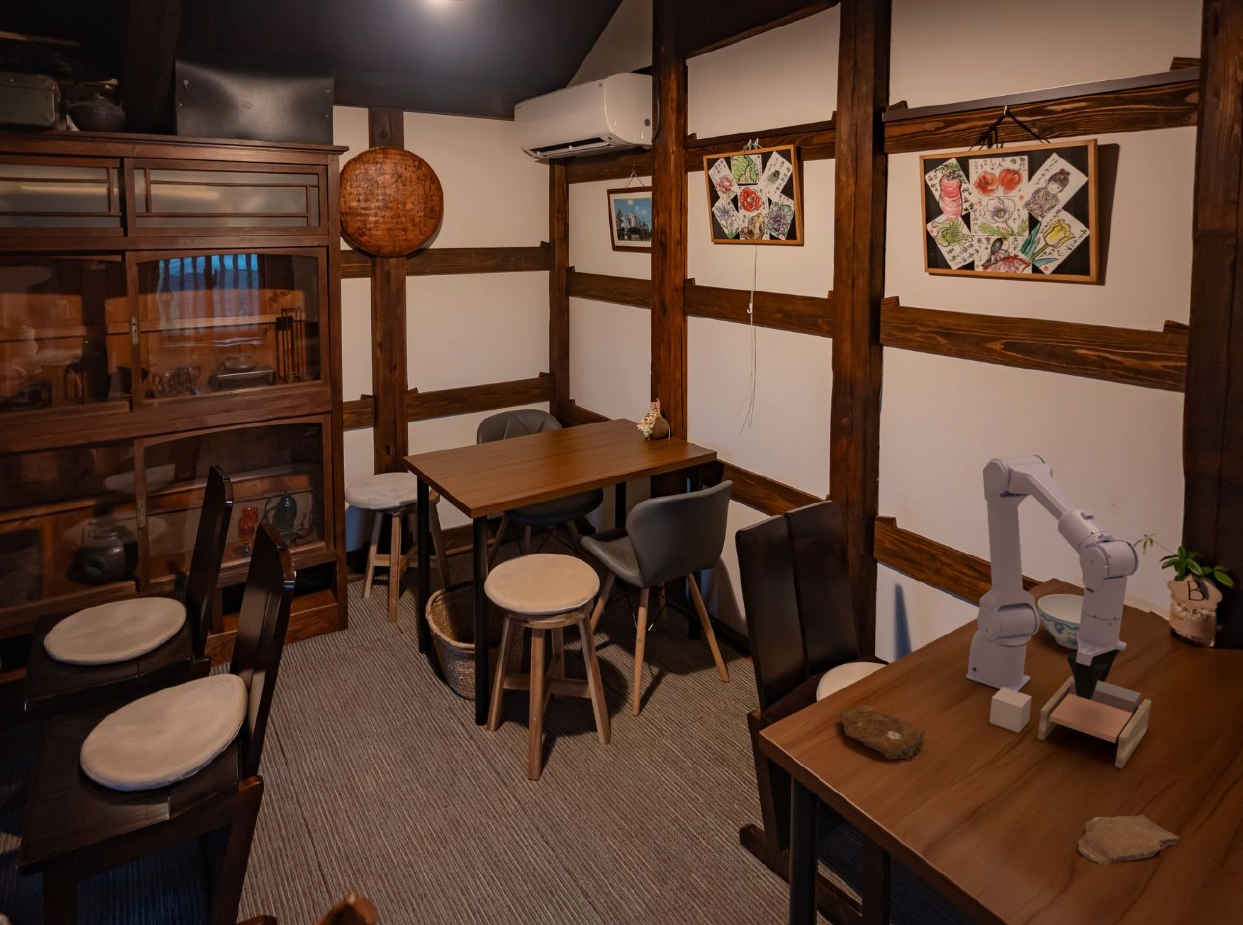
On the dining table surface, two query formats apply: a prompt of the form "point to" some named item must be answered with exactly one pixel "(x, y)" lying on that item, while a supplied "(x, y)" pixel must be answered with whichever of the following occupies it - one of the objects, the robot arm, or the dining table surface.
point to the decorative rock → (882, 732)
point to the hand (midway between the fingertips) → (1091, 688)
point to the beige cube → (1010, 709)
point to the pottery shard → (1123, 839)
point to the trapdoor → (1098, 711)
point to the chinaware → (1062, 617)
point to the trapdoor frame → (1126, 739)
